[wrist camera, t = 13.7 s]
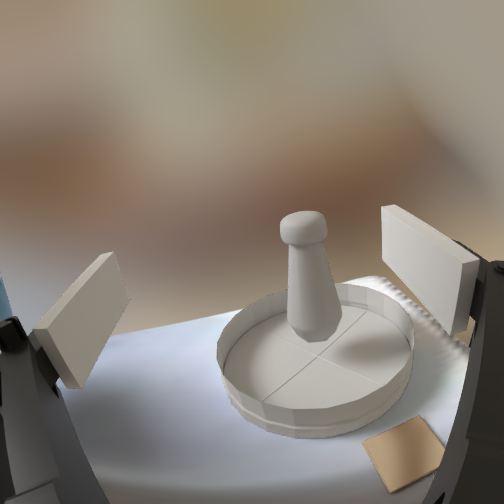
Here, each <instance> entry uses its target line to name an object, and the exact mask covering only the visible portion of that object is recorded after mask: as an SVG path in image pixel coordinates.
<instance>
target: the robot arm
mask: <svg viewBox="0 0 504 504" xmlns="http://www.w3.org/2000/svg"><path fill="white" fill-rule="evenodd" d="M381 213H382V259H383V261H384V262H385V263H386V264H387V265H388V266H389V267H390V268H391V269H392V270H393V271H394V272H395V273H396V274H397V276H398V277H399V278H400V279H401V280H402V281H403V282H404V283H405V284H406V285H407V287H409V289H410V290H411V291H412V292H413V293H414V294H415V295H416V297H418V299H419V300H420V301H421V302H422V303H423V304H424V306H425V307H426V308H427V309H428V310H429V312H430V313H431V314H432V315H433V316H434V317H435V319H436V320H437V321H438V322H439V323H440V325H441V326H442V327H443V328H444V329H445V331H446V332H447V333H448V334H449V335H450V336H451V335H454V334H456V333H460V332H462V331H465V330H466V329H467V324H468V321H469V316H471V317H472V318H473V319H474V320H475V321H476V322H475V326H474V330H473V334H472V338H471V341H470V344H469V347H471V349H470V355H469V361H468V366H467V371H466V376H465V381H464V385H463V389H462V394H461V398H460V402H459V406H458V409H457V413H456V417H455V420H454V423H453V427H452V430H451V433H450V436H449V439H448V442H447V445H446V448H445V451H444V454H443V457H442V460H441V462H440V465H439V467H438V470H437V473H436V475H435V478H434V480H433V482H432V485H431V487H430V489H429V491H428V494H427V496H426V497H425V499H424V501H423V503H422V504H504V261H492V262H490V263H489V262H488V261H487V260H485V259H484V258H482V257H481V256H479V255H478V254H476V253H475V252H473V251H472V250H471V249H469V248H467V247H466V246H465V245H463V244H462V243H460V242H458V241H455V240H452V239H450V238H448V237H447V236H445V235H443V234H442V233H440V232H439V231H437V230H436V229H434V228H433V227H431V226H429V225H428V224H426V223H424V222H423V221H421V220H420V219H418V218H416V217H415V216H413V215H411V214H410V213H408V212H407V211H405V210H403V209H401V208H400V207H398V206H396V205H390V206H383V207H381ZM130 300H131V299H130V297H129V294H128V291H127V289H126V286H125V283H124V280H123V277H122V275H121V272H120V269H119V266H118V263H117V260H116V257H115V254H114V252H110V253H105V254H101V255H100V256H99V257H98V258H97V259H96V260H95V261H94V262H93V263H92V264H91V265H90V266H89V267H88V268H87V269H86V270H85V271H84V272H83V273H82V274H81V275H80V276H79V277H78V278H77V280H76V281H75V282H74V283H73V284H72V285H71V286H70V287H69V288H68V289H67V290H66V291H65V292H64V294H63V295H62V296H61V297H60V298H59V299H58V300H57V301H56V302H55V303H54V305H53V306H52V307H51V308H50V309H49V310H48V311H47V313H46V314H45V315H44V316H43V317H42V318H41V319H40V321H39V322H38V323H37V324H36V325H35V326H34V328H33V331H32V332H31V333H30V334H29V336H27V335H26V333H25V331H24V329H23V327H22V325H21V323H20V321H19V319H18V317H16V316H12V309H11V306H10V303H9V300H8V296H7V293H6V290H5V287H4V284H3V280H2V277H1V274H0V350H1V354H0V504H110V503H109V501H108V499H107V498H106V496H105V494H104V492H103V490H102V488H101V487H100V485H99V483H98V481H97V479H96V477H95V475H94V473H93V471H92V469H91V467H90V465H89V462H88V460H87V458H86V456H85V454H84V451H83V449H82V447H81V445H80V442H79V440H78V437H77V435H76V433H75V430H74V428H73V425H72V422H71V420H70V417H69V414H68V412H67V409H66V406H65V403H64V400H63V397H62V394H61V391H60V389H59V388H58V386H57V385H56V382H57V380H58V378H59V377H60V379H61V380H62V382H63V383H64V385H65V386H66V388H69V389H82V388H83V386H84V384H85V382H86V380H87V378H88V376H89V374H90V372H91V370H92V369H93V367H94V365H95V363H96V361H97V359H98V357H99V355H100V353H101V352H102V350H103V348H104V346H105V344H106V342H107V340H108V339H109V337H110V335H111V333H112V331H113V330H114V328H115V326H116V324H117V322H118V321H119V319H120V317H121V315H122V314H123V312H124V310H125V309H126V307H127V305H128V303H129V302H130Z"/></svg>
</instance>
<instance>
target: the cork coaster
mask: <svg viewBox="0 0 504 504" xmlns="http://www.w3.org/2000/svg"><path fill="white" fill-rule="evenodd" d="M362 445H363V447H364V448H365V450H366V452H367V454H368V456H369V457H370V459H371V461H372V463H373V465H374V466H375V468H376V470H377V472H378V474H379V475H380V477H381V479H382V481H383V483H384V484H385V486H386V488H387V490H388V492H389V494H391V493H393V492H395V491H397V490H399V489H401V488H403V487H405V486H407V485H409V484H411V483H413V482H415V481H417V480H419V479H420V478H422V477H424V476H426V475H427V474H429V473H431V472H433V471H434V470H436V469H438V467H439V465H440V462H441V460H442V457H443V454H444V451H445V448H444V447H443V446H442V444H441V443H440V442H439V440H438V439H437V438H436V436H435V435H434V434H433V432H432V431H431V430H430V428H429V427H428V426H427V424H426V423H425V422H424V420H423V419H422V418H421V417H420V415H418V416H416V417H415V418H413V419H411V420H409V421H407V422H405V423H402V424H400V425H398V426H396V427H394V428H392V429H390V430H388V431H385V432H383V433H381V434H379V435H376V436H374V437H372V438H369V439H367V440H365V441H363V442H362Z"/></svg>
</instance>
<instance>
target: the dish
mask: <svg viewBox="0 0 504 504" xmlns="http://www.w3.org/2000/svg"><path fill="white" fill-rule="evenodd" d="M334 284H335V287H336V291H337V294H338V297H339V301H340V304H341V309H342V318H341V320H340V323H339V325H338V327H337V330H336V332H335V333H334V334H333V335H332V336H331V337H330V338H329V339H328V340H327V341H323V342H313V343H308V342H306V341H305V340H303V339H302V338H300V337H299V336H298V335H297V334H296V333H295V331H294V330H293V328H292V327H291V326H290V324H289V323H288V321H287V303H288V289H285V290H283V291H279V292H277V293H274V294H271V295H268V296H266V297H264V298H262V299H260V300H258V301H256V302H254V303H252V304H250V305H249V306H247V307H246V308H244V309H243V310H242V311H240V312H239V313H238V314H236V315H235V316H234V317H233V319H232V320H231V321H230V322H229V323H228V324H227V325H226V326H225V328H224V329H223V332H222V334H221V336H220V338H219V340H218V342H217V361H218V364H219V366H220V369H221V378H222V381H223V384H224V386H225V389H226V392H227V394H228V397H229V399H230V402H231V404H232V405H233V406H234V407H235V409H236V410H237V411H238V412H239V413H240V414H241V415H242V416H243V417H244V418H245V419H246V420H247V421H249V422H251V423H253V424H255V425H256V426H258V427H260V428H262V429H264V430H266V431H267V432H271V433H275V434H279V435H283V436H288V437H292V438H329V437H333V436H336V435H340V434H344V433H348V432H351V431H355V430H358V429H360V428H361V427H363V426H365V425H367V424H369V423H371V422H372V421H374V420H376V419H378V418H379V417H381V416H383V415H384V414H385V413H386V412H387V411H388V410H389V409H390V408H391V407H392V406H393V405H394V404H395V403H396V402H397V401H398V400H399V399H400V398H401V396H402V394H403V392H404V390H405V388H406V386H407V384H408V382H409V380H410V375H411V370H412V367H413V356H414V349H413V348H414V333H415V330H414V327H413V324H412V321H411V318H410V316H409V314H408V313H407V312H406V311H405V310H404V308H403V307H402V306H401V305H400V304H399V303H398V302H396V301H395V300H393V299H392V298H390V297H389V296H387V295H385V294H384V293H381V292H378V291H376V290H373V289H370V288H367V287H362V286H357V285H351V284H339V283H334Z"/></svg>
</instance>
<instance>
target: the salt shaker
mask: <svg viewBox="0 0 504 504" xmlns="http://www.w3.org/2000/svg"><path fill="white" fill-rule="evenodd" d="M280 233H281V238H282V240H283V241H284V242H285V243H286V244H288V245H289V272H288V303H287V321H288V323H289V324H290V326H291V327H292V328H293V330H294V331H295V333H296V334H297V335H298V336H299V337H300V338H302V339H303V340H305V341H306V342H308V343H313V342H323V341H327V340H328V339H329V338H330V337H331V336H332V335H333V334H334V333H335V332H336V330H337V327H338V325H339V323H340V320H341V318H342V309H341V304H340V301H339V297H338V294H337V291H336V287H335V284H334V280H333V276H332V273H331V269H330V266H329V262H328V259H327V256H326V252H325V249H324V245H323V242H322V240H323V239H324V238H325V237H326V236H327V225H326V222H325V218H324V216H323V215H322V214H321V213H318V212H316V211H301V212H296V213H293V214H290V215H287V216H286V217H285V218H283V220H282V221H281V223H280Z"/></svg>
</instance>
